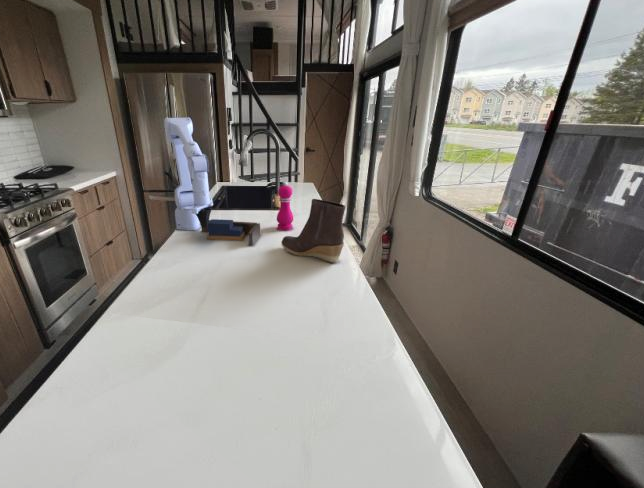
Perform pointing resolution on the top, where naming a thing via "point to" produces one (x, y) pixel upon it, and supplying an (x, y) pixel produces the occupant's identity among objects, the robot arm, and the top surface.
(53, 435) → the top surface
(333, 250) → the boot
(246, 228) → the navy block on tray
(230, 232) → the trainer
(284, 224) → the pepper mill
